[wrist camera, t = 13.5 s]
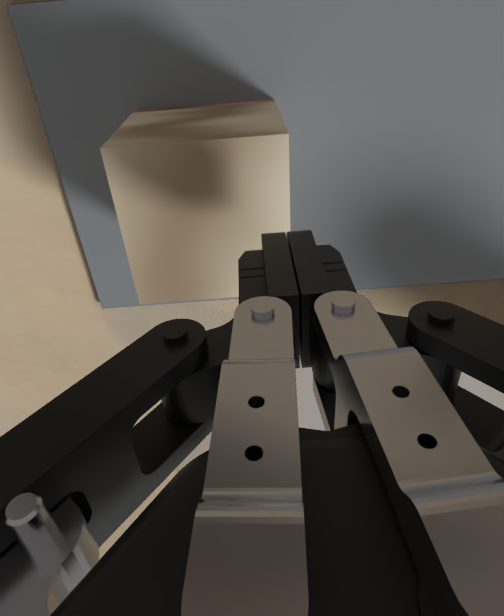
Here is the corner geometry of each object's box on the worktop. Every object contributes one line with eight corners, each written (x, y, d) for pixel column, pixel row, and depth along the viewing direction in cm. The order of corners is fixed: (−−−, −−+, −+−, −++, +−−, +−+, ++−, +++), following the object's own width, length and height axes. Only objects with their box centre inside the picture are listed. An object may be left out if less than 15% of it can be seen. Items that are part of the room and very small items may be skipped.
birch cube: (99, 148, 14) (134, 110, 19) (139, 304, 17) (160, 237, 22) (288, 133, 14) (274, 99, 19) (291, 293, 17) (278, 228, 22)
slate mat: (636, -46, 17) (644, -47, 17) (529, 272, 25) (533, 276, 24) (10, 4, 17) (6, 5, 17) (103, 304, 25) (102, 308, 25)
